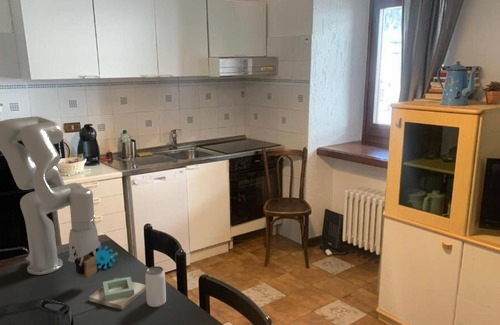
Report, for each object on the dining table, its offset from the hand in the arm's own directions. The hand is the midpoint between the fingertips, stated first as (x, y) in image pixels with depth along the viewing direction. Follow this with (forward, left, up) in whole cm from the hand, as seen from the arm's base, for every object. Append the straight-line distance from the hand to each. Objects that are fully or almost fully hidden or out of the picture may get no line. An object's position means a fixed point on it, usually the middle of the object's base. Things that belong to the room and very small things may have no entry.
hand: (86, 269), depth 149 cm
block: (0, 0, -2) cm, 2 cm away
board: (+14, 0, -7) cm, 15 cm away
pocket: (+14, 0, -5) cm, 15 cm away
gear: (-5, +15, -7) cm, 17 cm away
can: (+29, +1, -7) cm, 30 cm away
